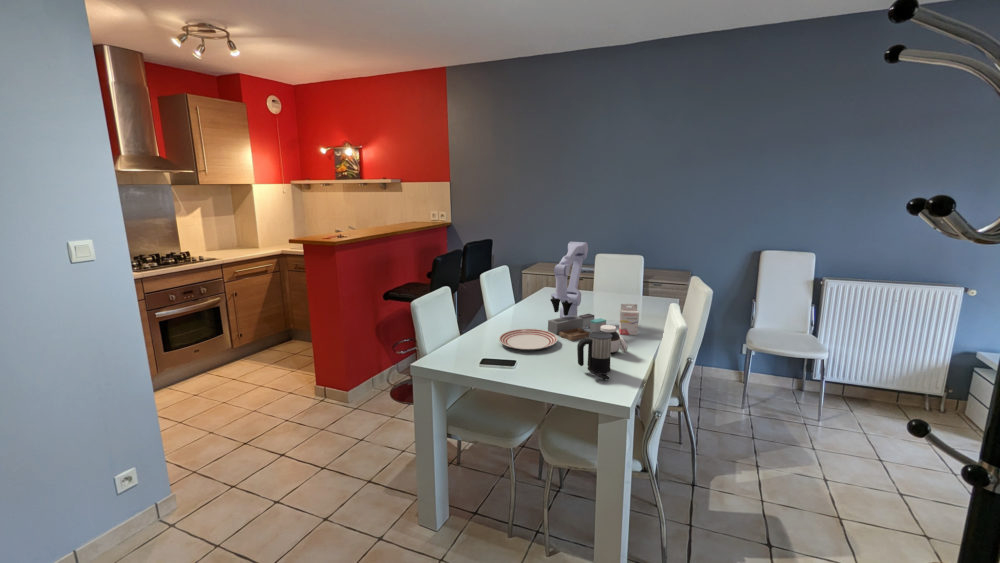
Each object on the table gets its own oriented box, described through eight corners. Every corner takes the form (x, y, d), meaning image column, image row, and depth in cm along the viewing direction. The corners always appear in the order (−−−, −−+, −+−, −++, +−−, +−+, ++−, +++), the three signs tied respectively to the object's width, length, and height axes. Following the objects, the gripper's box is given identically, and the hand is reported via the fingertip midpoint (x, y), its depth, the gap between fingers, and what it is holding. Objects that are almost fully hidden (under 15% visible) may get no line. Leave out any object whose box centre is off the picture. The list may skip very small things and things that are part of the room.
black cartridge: (578, 326, 248) (579, 315, 247) (588, 324, 252) (589, 313, 250) (584, 328, 245) (584, 317, 243) (594, 326, 248) (594, 315, 247)
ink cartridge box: (620, 334, 233) (621, 306, 230) (618, 331, 238) (620, 303, 235) (638, 335, 232) (639, 306, 229) (636, 332, 237) (637, 303, 234)
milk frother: (600, 364, 196) (602, 329, 193) (627, 377, 182) (629, 340, 179) (573, 370, 189) (573, 335, 186) (598, 384, 176) (599, 346, 173)
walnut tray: (559, 336, 232) (559, 331, 232) (577, 331, 239) (577, 327, 238) (571, 341, 225) (571, 336, 224) (590, 336, 231) (590, 332, 231)
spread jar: (592, 351, 211) (593, 326, 209) (608, 345, 218) (609, 321, 216) (615, 358, 202) (616, 332, 200) (630, 352, 209) (632, 327, 207)
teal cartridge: (590, 331, 239) (590, 320, 238) (600, 329, 242) (600, 318, 241) (595, 333, 235) (596, 322, 234) (605, 331, 239) (606, 320, 238)
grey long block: (547, 331, 240) (547, 319, 238) (573, 326, 249) (573, 314, 247) (556, 335, 234) (557, 323, 232) (582, 329, 243) (582, 317, 241)
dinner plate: (554, 356, 206) (554, 348, 205) (493, 352, 212) (493, 345, 211) (559, 336, 232) (559, 330, 232) (505, 333, 238) (505, 327, 237)
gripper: (546, 286, 244) (546, 311, 246) (564, 291, 232) (564, 318, 234) (557, 284, 247) (556, 309, 250) (575, 289, 235) (574, 315, 238)
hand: (561, 313), depth 243 cm, fingers open, 7 cm apart
